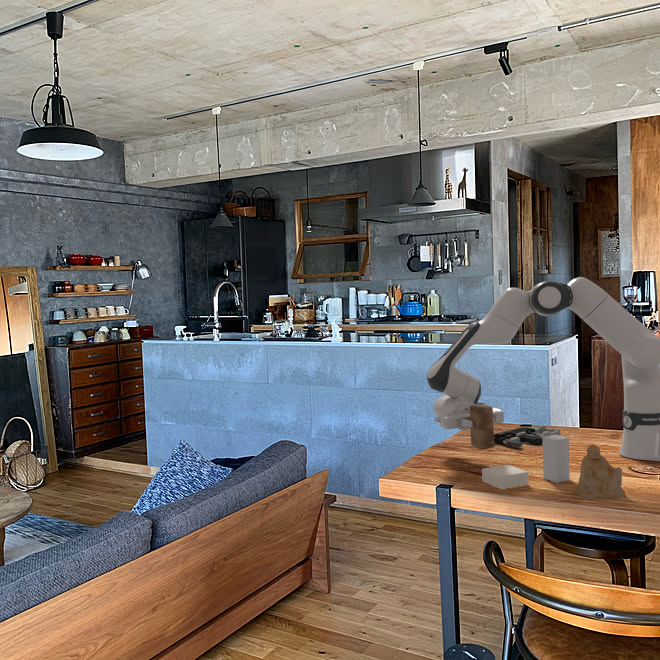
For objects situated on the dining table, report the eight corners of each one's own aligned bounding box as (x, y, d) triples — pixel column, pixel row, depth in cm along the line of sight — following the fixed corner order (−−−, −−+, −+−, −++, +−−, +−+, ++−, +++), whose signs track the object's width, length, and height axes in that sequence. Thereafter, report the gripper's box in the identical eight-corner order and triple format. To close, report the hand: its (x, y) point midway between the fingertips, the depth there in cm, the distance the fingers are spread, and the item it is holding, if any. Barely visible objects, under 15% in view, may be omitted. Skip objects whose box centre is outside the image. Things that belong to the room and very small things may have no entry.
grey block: (555, 475, 192) (554, 434, 192) (569, 479, 188) (568, 437, 187) (543, 478, 190) (542, 437, 189) (557, 482, 186) (556, 440, 185)
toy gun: (509, 455, 218) (473, 447, 230) (566, 438, 239) (530, 431, 250) (509, 445, 218) (473, 437, 230) (566, 428, 238) (530, 422, 250)
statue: (603, 444, 184) (622, 442, 174) (612, 497, 180) (632, 497, 171) (561, 448, 182) (578, 445, 173) (569, 501, 179) (587, 501, 169)
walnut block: (486, 443, 203) (484, 404, 202) (494, 446, 198) (492, 407, 198) (471, 445, 202) (469, 406, 201) (478, 448, 197) (477, 408, 196)
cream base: (508, 478, 193) (508, 464, 193) (528, 486, 185) (528, 471, 185) (482, 482, 190) (482, 468, 190) (501, 491, 181) (501, 476, 181)
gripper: (431, 408, 210) (450, 416, 196) (490, 402, 215) (512, 409, 201) (432, 428, 210) (451, 437, 197) (491, 421, 215) (513, 430, 202)
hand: (483, 423), depth 199 cm, fingers closed on walnut block, 5 cm apart
